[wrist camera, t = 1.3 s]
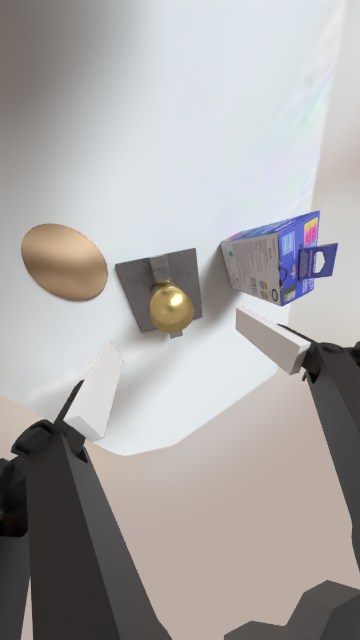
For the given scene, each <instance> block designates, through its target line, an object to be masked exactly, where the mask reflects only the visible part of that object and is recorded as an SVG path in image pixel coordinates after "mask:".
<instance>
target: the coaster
mask: <svg viewBox="0 0 360 640" xmlns="http://www.w3.org/2000/svg"><path fill="white" fill-rule="evenodd" d="M21 251H22V258H23V261H24V264H25V266H26V268H27V270H28V271H29V273H30V274H31V276H32V277H33V278H34V279H35V280H36V281H37V282H38V283H39V284H40V285H41V286H42V287H44V288H45V289H46V290H48V291H49V292H51V293H53V294H55V295H57V296H60V297H62V298H66V299H71V300H85V299H89V298H92V297H94V296H95V295H97V294H98V293H99V292H101V291H102V289H103V288H104V286H105V285H106V282H107V277H108V272H107V266H106V262H105V260H104V257H103V255H102V254H101V252H100V251H99V249H98V248H97V247H96V245H95V244H94V243H93V242H92V241H91V240H89V239H88V238H87V237H86V236H84V235H83V234H81V233H80V232H78V231H76V230H74V229H72V228H69V227H66V226H63V225H58V224H42V225H38V226H36V227H34V228H32V229H31V230H30V231H29V232H28V233H27V234H26V235H25V237H24V239H23V242H22V247H21Z"/></svg>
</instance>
